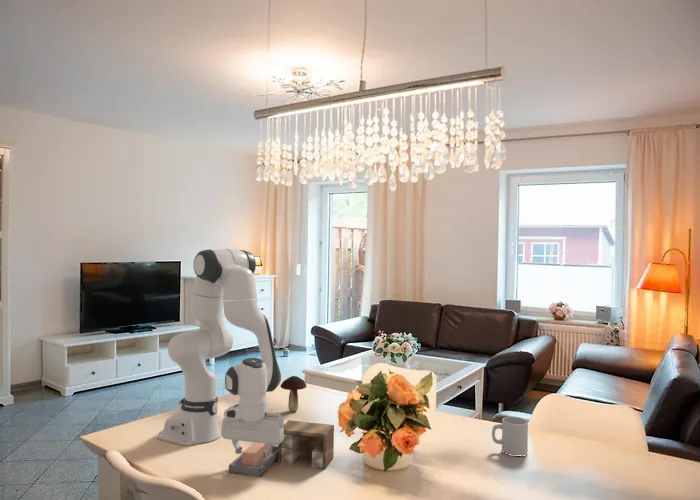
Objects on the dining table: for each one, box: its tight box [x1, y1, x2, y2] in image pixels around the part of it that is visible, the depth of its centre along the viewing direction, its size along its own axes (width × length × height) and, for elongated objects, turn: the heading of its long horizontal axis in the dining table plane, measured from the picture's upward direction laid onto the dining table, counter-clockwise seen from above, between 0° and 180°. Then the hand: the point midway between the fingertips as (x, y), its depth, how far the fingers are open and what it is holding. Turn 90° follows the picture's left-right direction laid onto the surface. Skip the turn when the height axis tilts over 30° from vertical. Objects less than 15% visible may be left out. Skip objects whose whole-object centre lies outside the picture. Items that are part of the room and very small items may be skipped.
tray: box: [228, 445, 278, 478], centre depth 165 cm, size 11×19×2 cm, turn 166°
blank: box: [241, 442, 272, 467], centre depth 165 cm, size 4×14×5 cm, turn 165°
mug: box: [491, 416, 529, 455], centre depth 178 cm, size 12×8×11 cm
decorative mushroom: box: [280, 375, 307, 413], centre depth 218 cm, size 11×11×15 cm
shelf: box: [277, 419, 335, 470], centre depth 168 cm, size 16×9×11 cm, turn 76°
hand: (252, 454), depth 162 cm, fingers open, 8 cm apart
